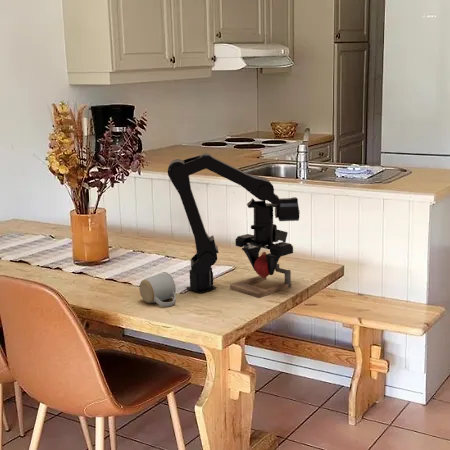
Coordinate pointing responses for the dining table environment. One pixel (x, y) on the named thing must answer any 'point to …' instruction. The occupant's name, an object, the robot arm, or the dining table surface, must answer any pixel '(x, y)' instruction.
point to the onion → (261, 266)
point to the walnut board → (259, 292)
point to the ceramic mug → (158, 289)
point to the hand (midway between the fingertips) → (263, 272)
